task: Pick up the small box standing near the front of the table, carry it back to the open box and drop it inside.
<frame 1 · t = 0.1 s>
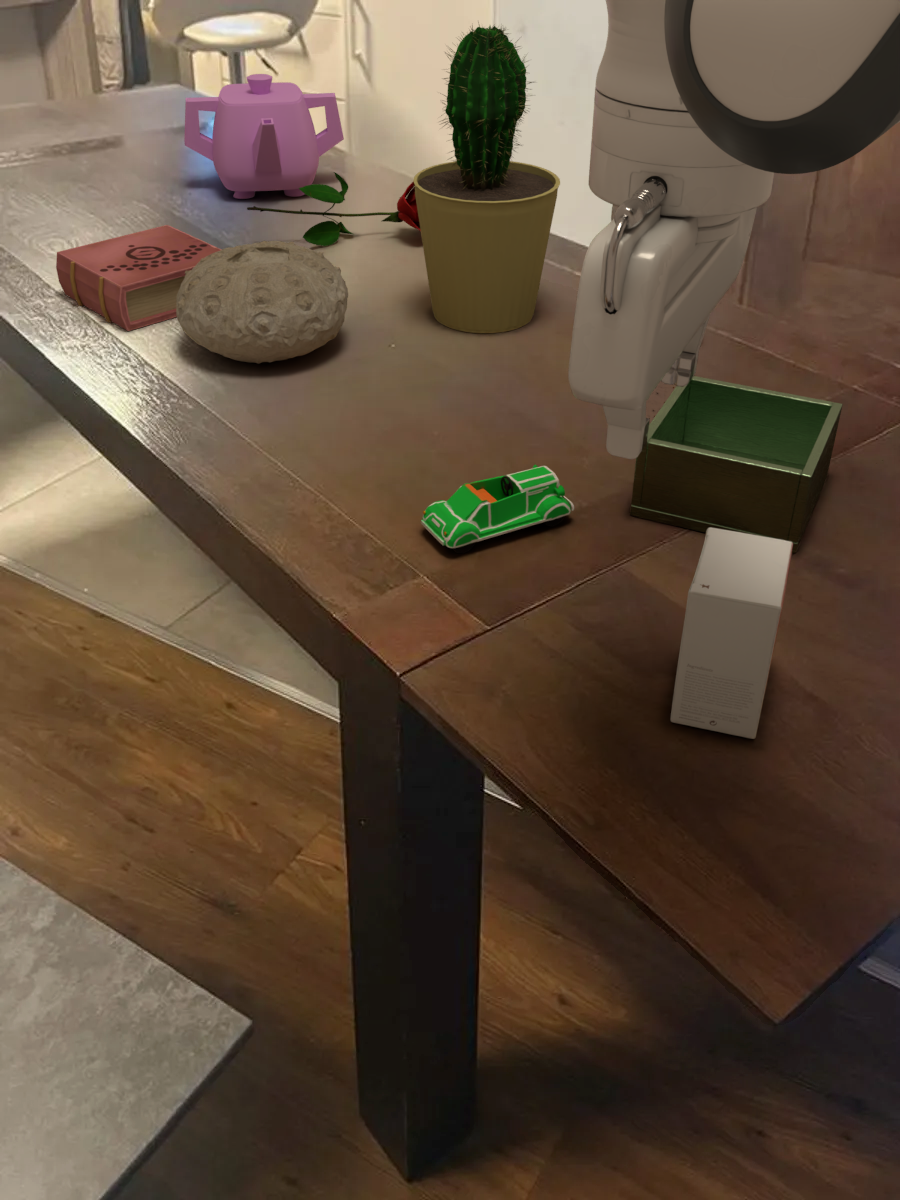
hand: (652, 414, 65), 22 cm above the table, tool pointing down, fingers open, 8 cm apart
potted cactus: (483, 315, 133), on the table
small box: (719, 697, 79), on the table
figurine: (646, 333, 129), on the table
toy car: (497, 528, 96), on the table
flower: (368, 242, 152), on the table
book: (148, 299, 136), on the table
open box: (731, 495, 100), on the table
decorative shell: (267, 345, 126), on the table
teapot: (268, 188, 171), on the table
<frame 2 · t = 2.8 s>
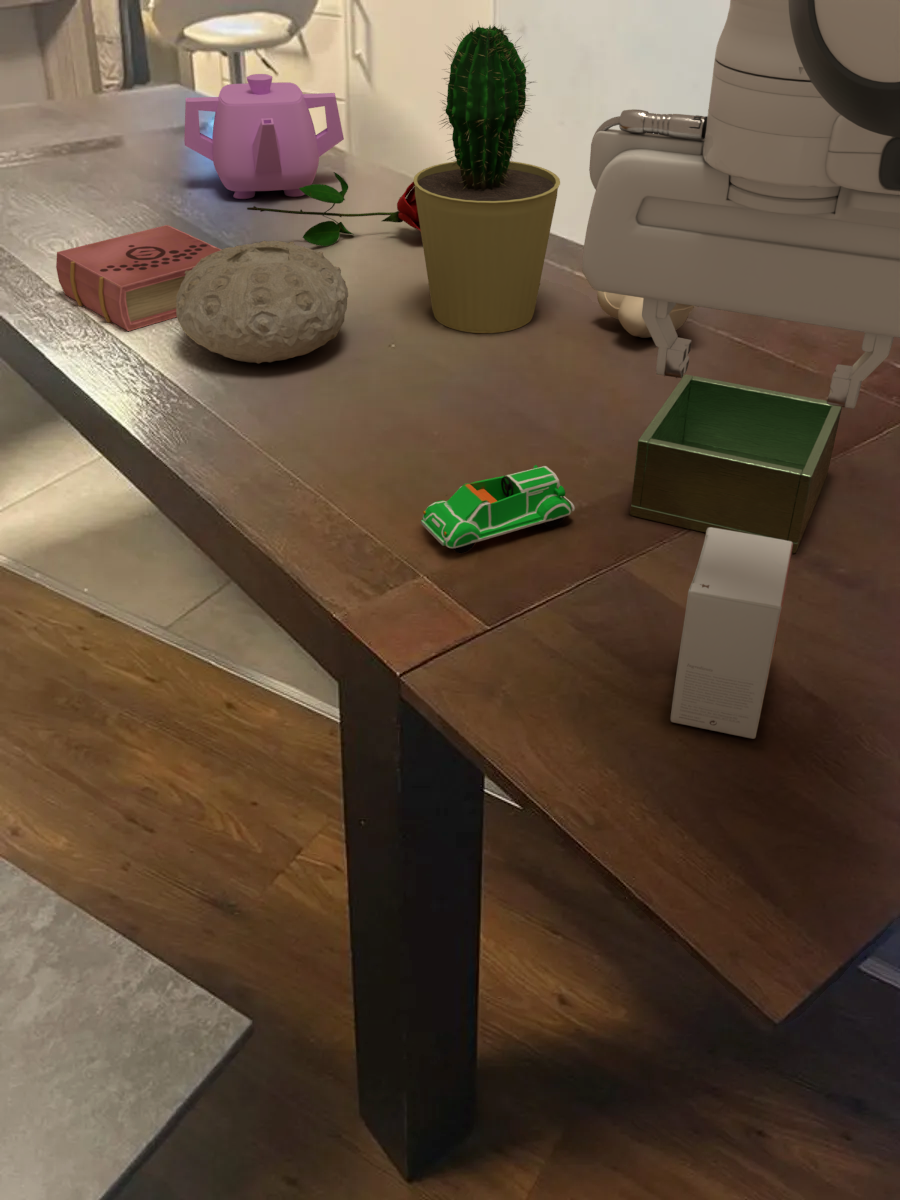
hand: (754, 387, 65), 23 cm above the table, tool pointing down, fingers open, 8 cm apart
nothing on the table moved.
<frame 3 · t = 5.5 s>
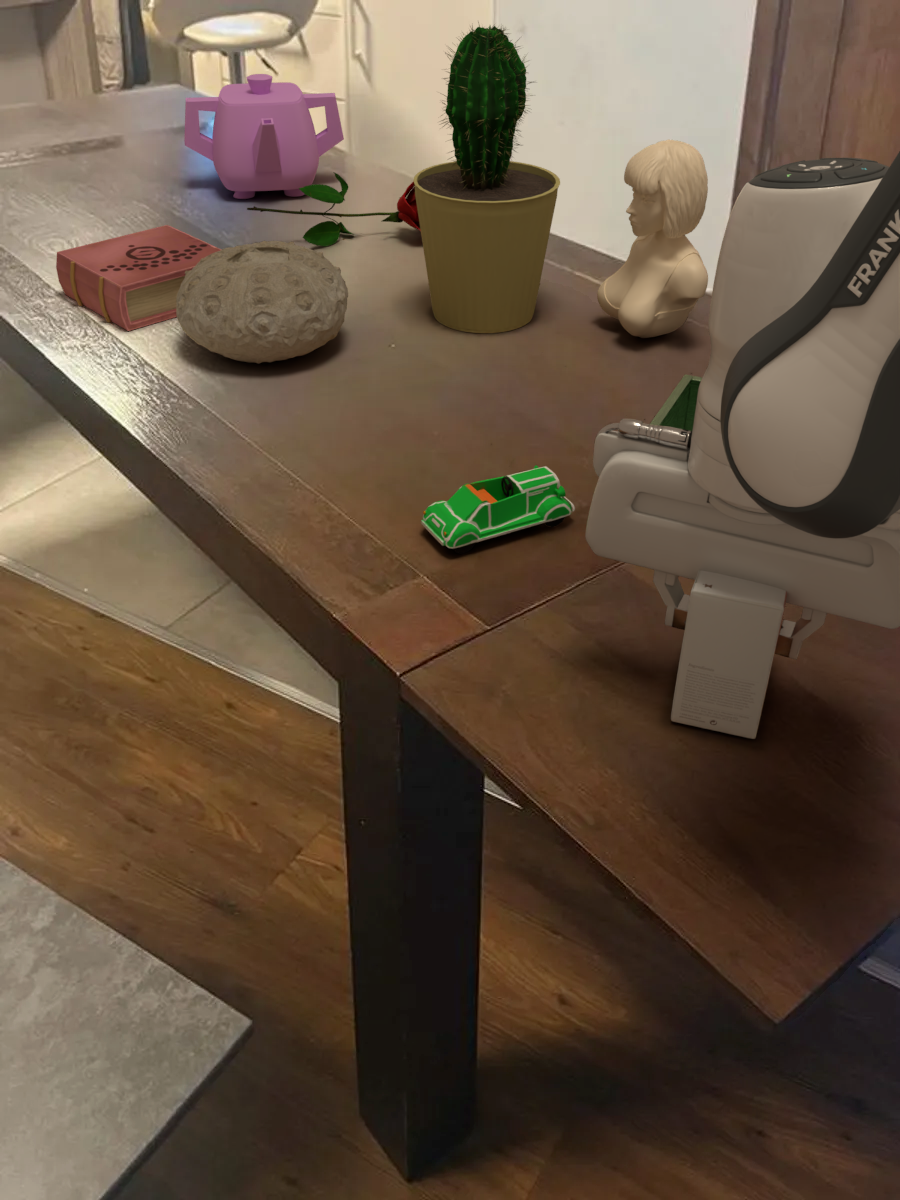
hand: (732, 637, 76), 5 cm above the table, tool pointing down, fingers closed on small box, 6 cm apart
small box: (719, 697, 79), on the table, touching gripper
everything else where it was.
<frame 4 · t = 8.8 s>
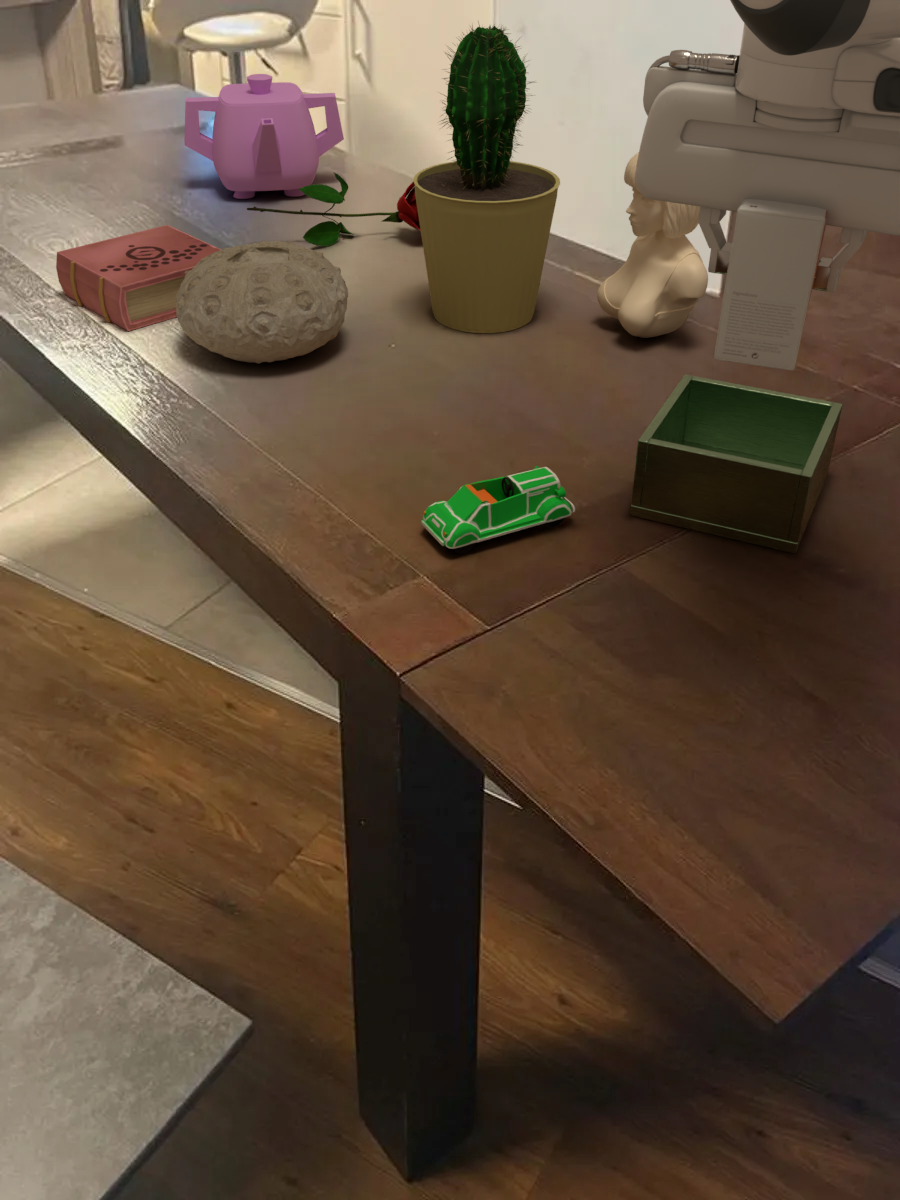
hand: (772, 280, 81), 22 cm above the table, tool pointing down, fingers closed on small box, 6 cm apart
small box: (758, 347, 84), point 17 cm above the table, touching gripper
everything else where it was.
when the fingers open (11 cm above the table, at t = 12.5 s): small box drops 5 cm, resting on open box.
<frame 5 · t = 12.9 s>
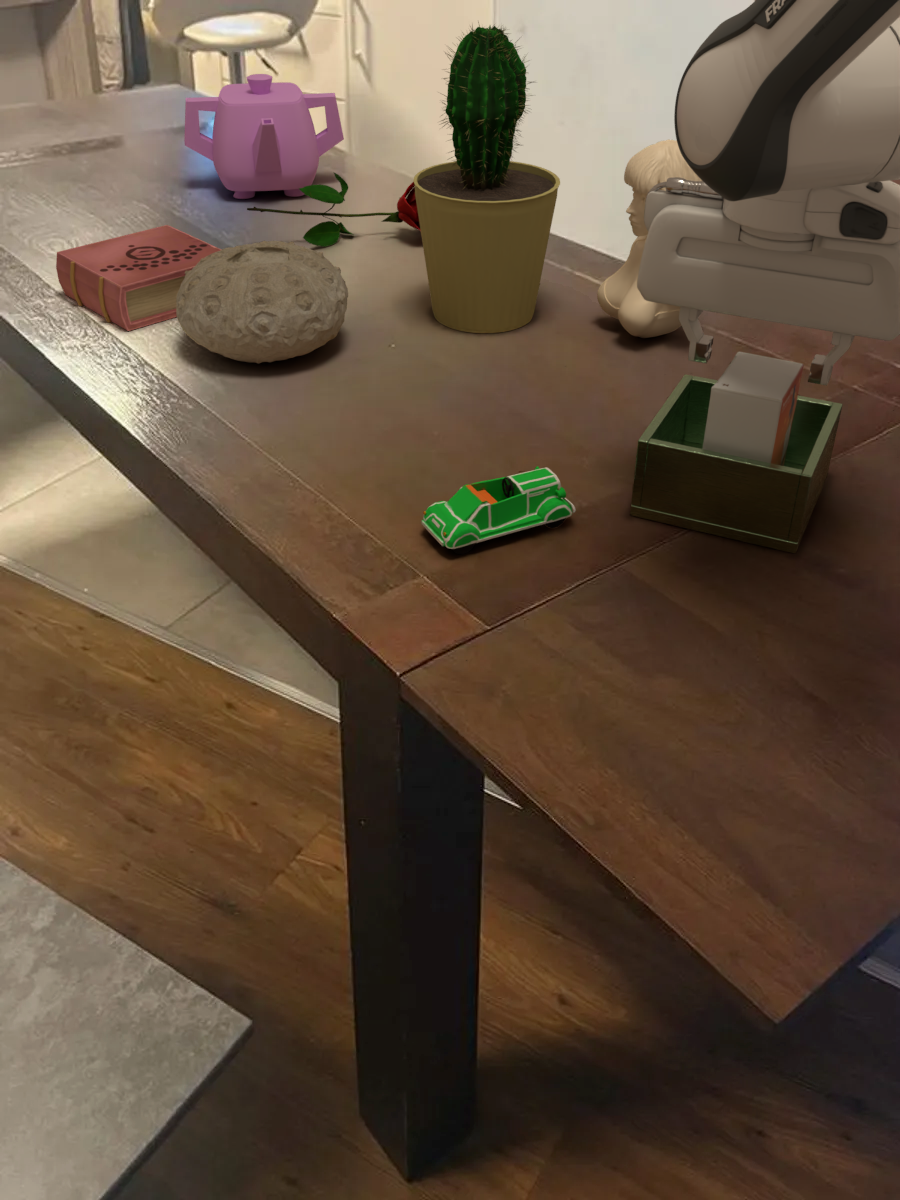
hand: (758, 370, 93), 12 cm above the table, tool pointing down, fingers open, 8 cm apart
small box: (738, 492, 99), point 1 cm above the table, touching open box
everything else where it was.
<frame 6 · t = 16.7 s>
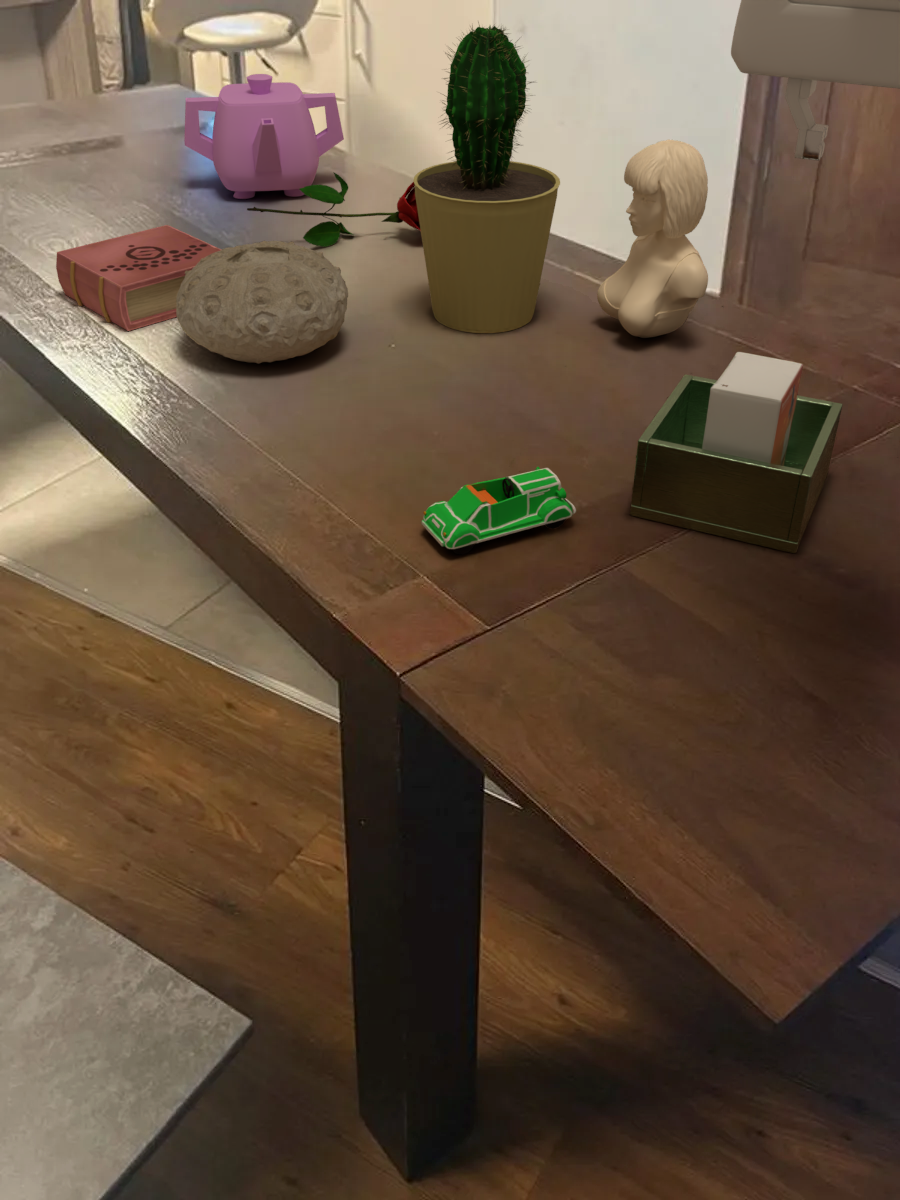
hand: (888, 167, 71), 31 cm above the table, tool pointing down, fingers open, 8 cm apart
nothing on the table moved.
at the end: small box inside the target area in the open box (1.0 cm from its centre), point 0.8 cm above the open box's base; the gripper is holding nothing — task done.
